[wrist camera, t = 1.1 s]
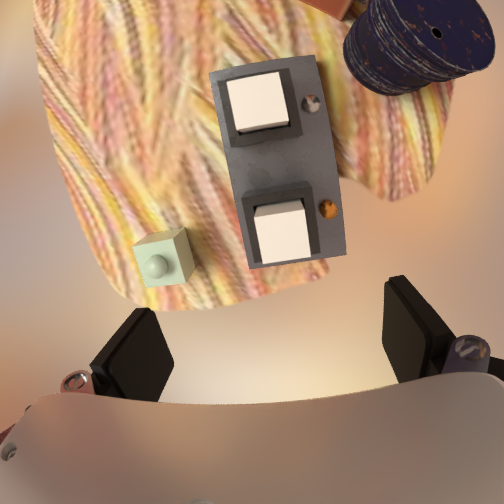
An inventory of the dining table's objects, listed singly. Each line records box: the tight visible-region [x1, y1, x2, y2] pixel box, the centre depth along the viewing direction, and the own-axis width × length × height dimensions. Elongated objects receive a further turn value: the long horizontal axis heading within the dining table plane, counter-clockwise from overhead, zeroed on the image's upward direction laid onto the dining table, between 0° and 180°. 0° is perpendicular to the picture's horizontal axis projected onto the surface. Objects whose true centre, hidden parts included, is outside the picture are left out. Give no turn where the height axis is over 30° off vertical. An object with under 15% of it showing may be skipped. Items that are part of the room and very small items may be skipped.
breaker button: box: [227, 72, 289, 133], centre depth 21 cm, size 4×4×5 cm
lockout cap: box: [132, 227, 196, 288], centre depth 32 cm, size 5×5×6 cm
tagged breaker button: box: [254, 198, 311, 264], centre depth 25 cm, size 4×4×5 cm
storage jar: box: [343, 0, 495, 96], centre depth 17 cm, size 10×10×15 cm
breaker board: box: [209, 55, 346, 269], centre depth 27 cm, size 22×11×6 cm, turn 11°
